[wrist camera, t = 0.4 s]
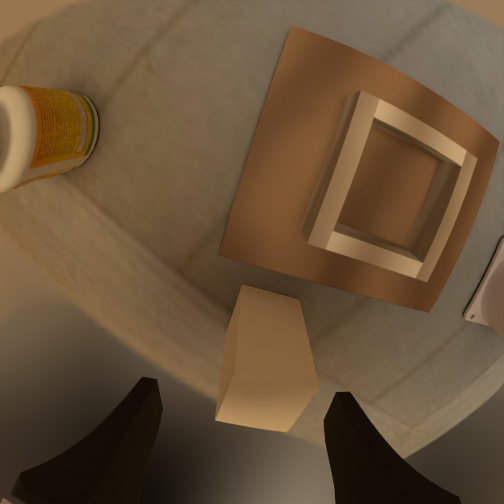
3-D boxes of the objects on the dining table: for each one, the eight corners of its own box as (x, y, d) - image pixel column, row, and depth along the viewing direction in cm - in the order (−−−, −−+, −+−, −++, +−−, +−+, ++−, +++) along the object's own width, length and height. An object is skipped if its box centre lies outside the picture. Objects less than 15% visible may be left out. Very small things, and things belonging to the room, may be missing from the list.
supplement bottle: (65, 186, 17) (-38, 233, 8) (31, 132, 15) (-73, 152, 6) (116, 131, 16) (4, 143, 7) (76, 76, 14) (-33, 61, 5)
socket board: (491, 140, 15) (522, 146, 12) (423, 305, 20) (443, 331, 17) (289, 31, 13) (297, 8, 10) (220, 248, 18) (212, 274, 15)
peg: (299, 299, 20) (319, 388, 12) (279, 342, 21) (287, 432, 14) (242, 284, 19) (234, 372, 12) (227, 330, 21) (215, 420, 13)
